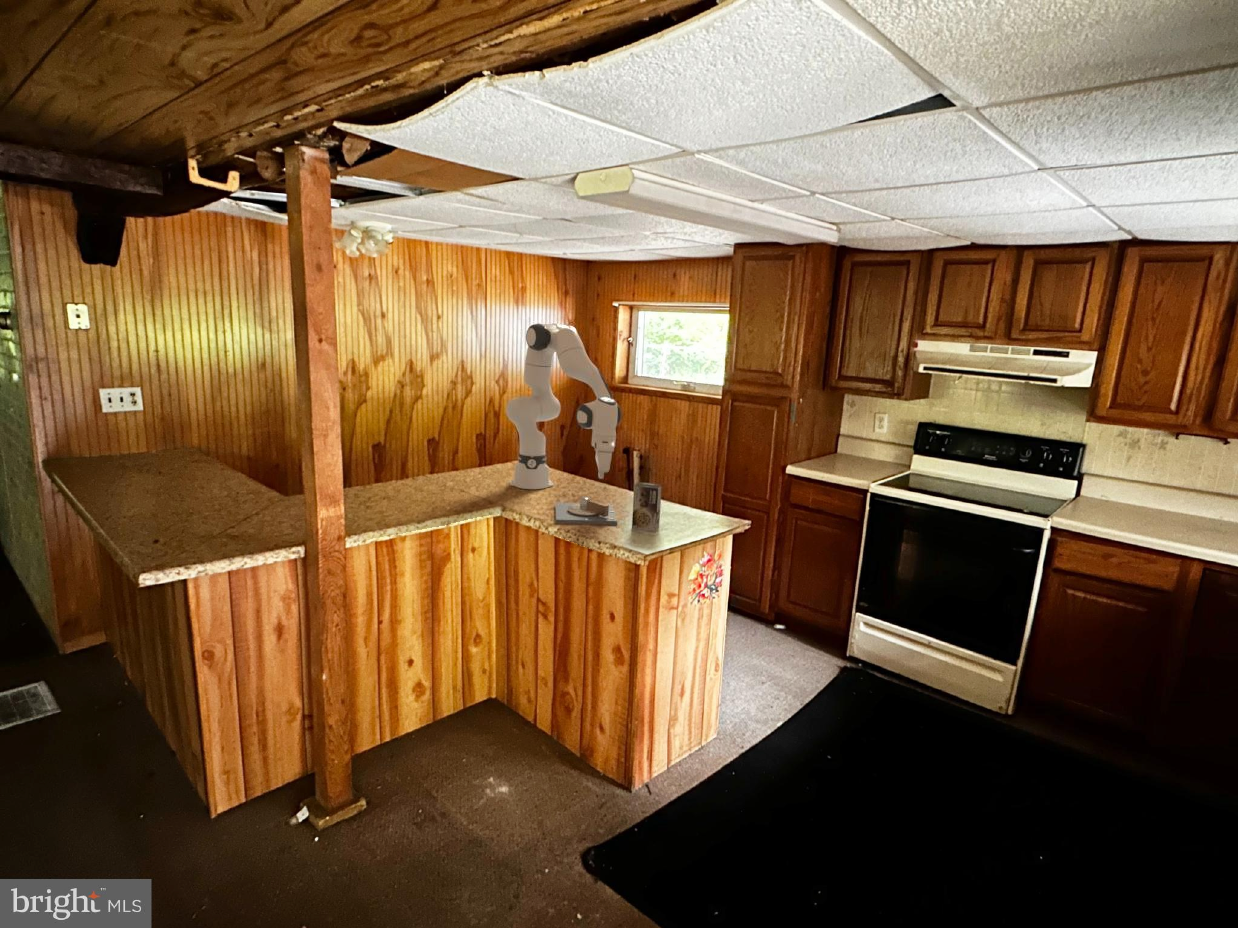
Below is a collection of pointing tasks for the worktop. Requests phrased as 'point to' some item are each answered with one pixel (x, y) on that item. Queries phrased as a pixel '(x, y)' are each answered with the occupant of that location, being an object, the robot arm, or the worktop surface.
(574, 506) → the dial
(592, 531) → the worktop surface
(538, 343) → the robot arm
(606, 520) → the dial plate
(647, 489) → the coffee box
